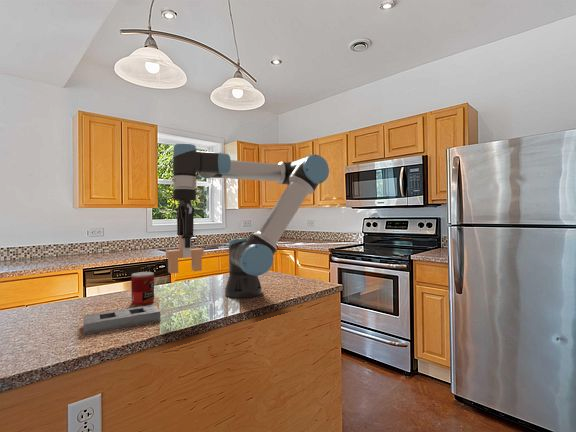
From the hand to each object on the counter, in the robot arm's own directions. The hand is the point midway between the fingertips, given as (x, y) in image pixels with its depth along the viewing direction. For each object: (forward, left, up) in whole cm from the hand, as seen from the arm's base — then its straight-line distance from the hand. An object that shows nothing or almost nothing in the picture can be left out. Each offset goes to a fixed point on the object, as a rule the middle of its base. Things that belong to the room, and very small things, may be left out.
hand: (185, 256), depth 108 cm
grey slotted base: (+20, +2, -19) cm, 27 cm away
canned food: (+11, -19, -19) cm, 29 cm away
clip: (0, 0, -5) cm, 5 cm away
